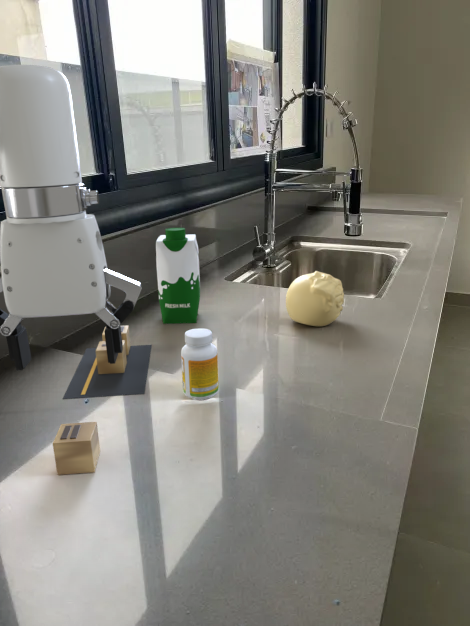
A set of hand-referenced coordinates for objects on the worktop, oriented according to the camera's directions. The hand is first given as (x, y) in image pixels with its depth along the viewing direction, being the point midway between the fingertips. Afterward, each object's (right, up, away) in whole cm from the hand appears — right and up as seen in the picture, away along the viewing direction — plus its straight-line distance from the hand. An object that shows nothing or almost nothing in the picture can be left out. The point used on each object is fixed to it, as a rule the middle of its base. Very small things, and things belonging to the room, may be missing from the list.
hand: (69, 362), depth 55 cm
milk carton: (+7, +4, +53) cm, 54 cm away
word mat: (-2, -4, +29) cm, 29 cm away
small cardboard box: (-3, -2, +36) cm, 36 cm away
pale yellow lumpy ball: (+35, +3, +50) cm, 61 cm away
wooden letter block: (-2, -4, +29) cm, 29 cm away
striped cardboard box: (0, -12, +4) cm, 13 cm away
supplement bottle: (+13, -7, +21) cm, 25 cm away
